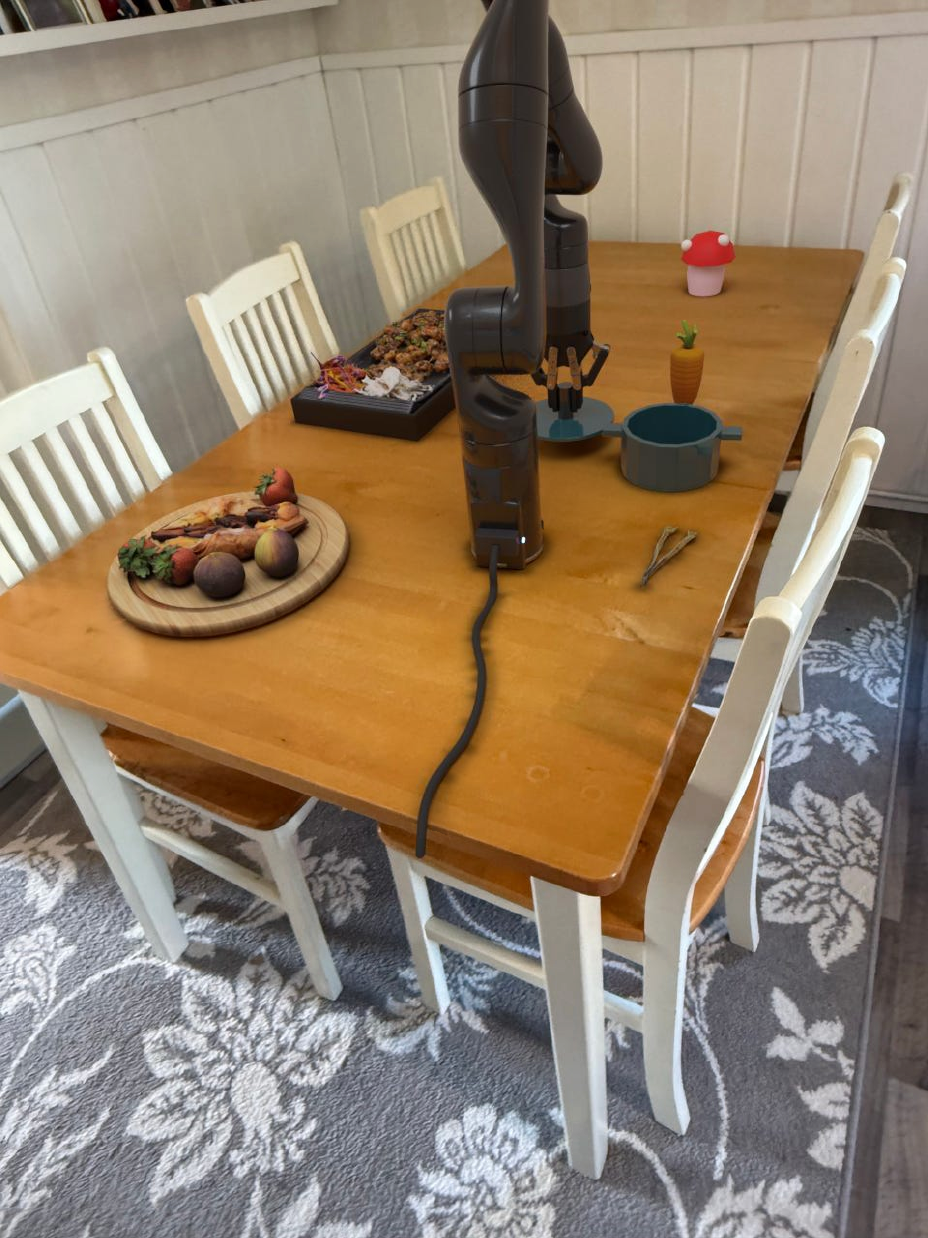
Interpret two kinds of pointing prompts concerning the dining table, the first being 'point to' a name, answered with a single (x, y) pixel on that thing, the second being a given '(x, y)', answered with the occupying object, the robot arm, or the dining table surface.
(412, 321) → the food platter
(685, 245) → the mushroom
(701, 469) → the saucepan
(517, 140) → the robot arm
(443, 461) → the dining table surface
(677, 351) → the carrot
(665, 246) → the dining table surface
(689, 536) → the tongs
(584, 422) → the pan lid
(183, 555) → the wooden plate
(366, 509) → the dining table surface
